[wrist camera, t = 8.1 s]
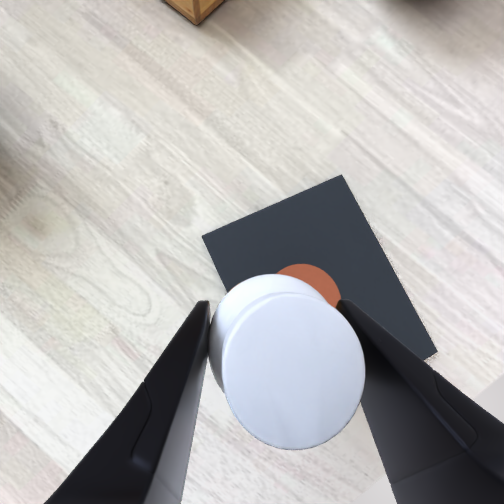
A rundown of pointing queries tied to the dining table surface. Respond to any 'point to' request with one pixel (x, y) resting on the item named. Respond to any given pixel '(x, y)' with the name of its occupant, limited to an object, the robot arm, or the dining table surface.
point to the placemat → (321, 257)
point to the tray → (194, 8)
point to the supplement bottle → (286, 361)
